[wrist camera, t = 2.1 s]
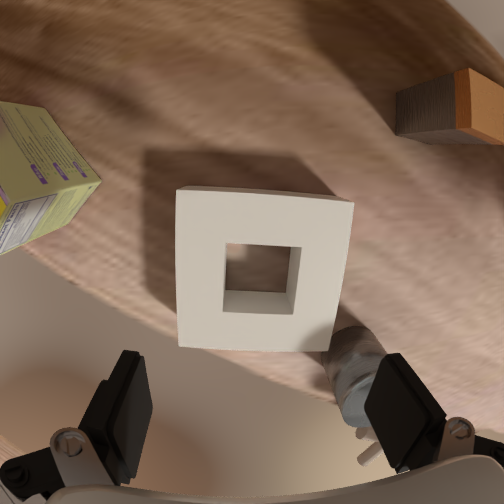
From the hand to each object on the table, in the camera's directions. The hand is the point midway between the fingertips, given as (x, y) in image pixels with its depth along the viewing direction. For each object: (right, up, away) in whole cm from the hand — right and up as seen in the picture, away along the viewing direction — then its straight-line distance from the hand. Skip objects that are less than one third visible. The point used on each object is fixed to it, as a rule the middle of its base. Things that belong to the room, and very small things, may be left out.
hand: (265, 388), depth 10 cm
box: (-18, +13, +11) cm, 25 cm away
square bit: (+14, +17, +11) cm, 24 cm away
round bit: (+9, -5, +17) cm, 20 cm away
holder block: (0, +4, +14) cm, 15 cm away
